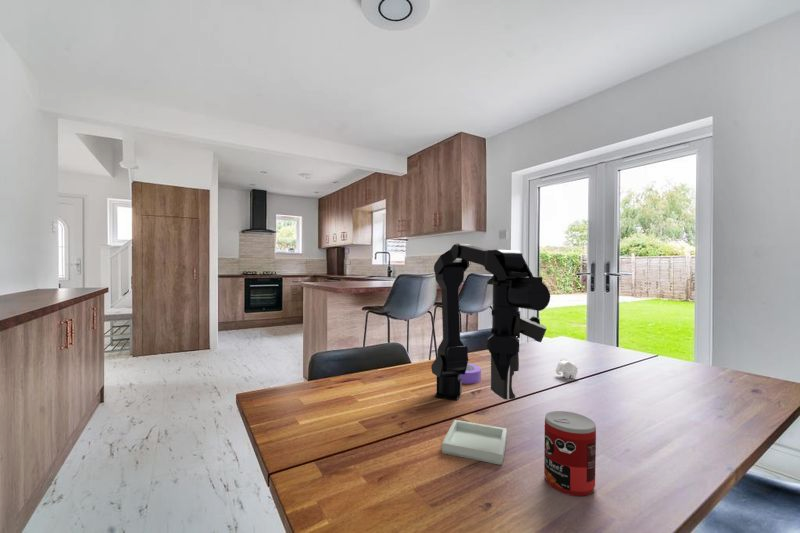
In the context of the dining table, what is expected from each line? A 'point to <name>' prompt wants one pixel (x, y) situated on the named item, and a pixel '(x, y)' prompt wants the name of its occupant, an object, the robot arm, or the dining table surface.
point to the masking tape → (471, 374)
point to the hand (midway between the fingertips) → (504, 374)
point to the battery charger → (504, 386)
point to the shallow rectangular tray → (476, 442)
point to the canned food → (570, 452)
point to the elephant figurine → (566, 369)
